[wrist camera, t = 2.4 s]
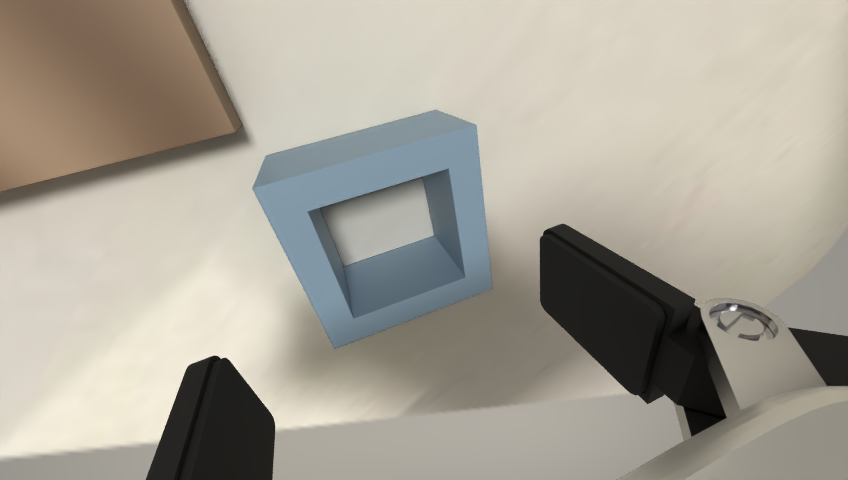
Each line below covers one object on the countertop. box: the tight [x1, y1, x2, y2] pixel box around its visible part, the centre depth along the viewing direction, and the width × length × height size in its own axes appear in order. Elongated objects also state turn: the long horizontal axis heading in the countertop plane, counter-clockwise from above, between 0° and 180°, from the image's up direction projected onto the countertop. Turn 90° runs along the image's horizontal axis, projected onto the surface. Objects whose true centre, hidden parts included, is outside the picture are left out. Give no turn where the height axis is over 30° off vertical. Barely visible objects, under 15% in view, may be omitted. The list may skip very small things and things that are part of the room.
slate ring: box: [252, 110, 492, 349], centre depth 14 cm, size 7×7×4 cm
